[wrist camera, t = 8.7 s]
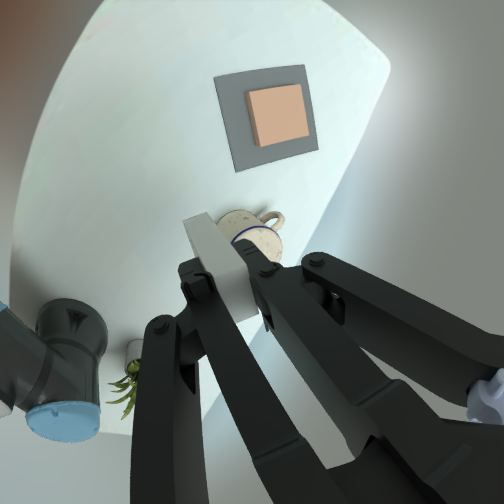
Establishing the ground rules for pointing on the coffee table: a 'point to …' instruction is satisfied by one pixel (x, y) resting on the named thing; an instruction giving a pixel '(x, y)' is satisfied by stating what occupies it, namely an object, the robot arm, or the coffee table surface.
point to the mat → (239, 120)
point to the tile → (277, 114)
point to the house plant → (130, 374)
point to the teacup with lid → (254, 231)
